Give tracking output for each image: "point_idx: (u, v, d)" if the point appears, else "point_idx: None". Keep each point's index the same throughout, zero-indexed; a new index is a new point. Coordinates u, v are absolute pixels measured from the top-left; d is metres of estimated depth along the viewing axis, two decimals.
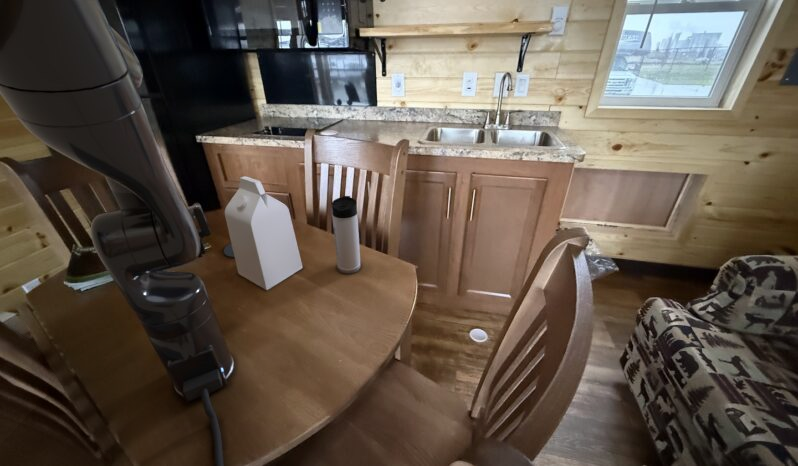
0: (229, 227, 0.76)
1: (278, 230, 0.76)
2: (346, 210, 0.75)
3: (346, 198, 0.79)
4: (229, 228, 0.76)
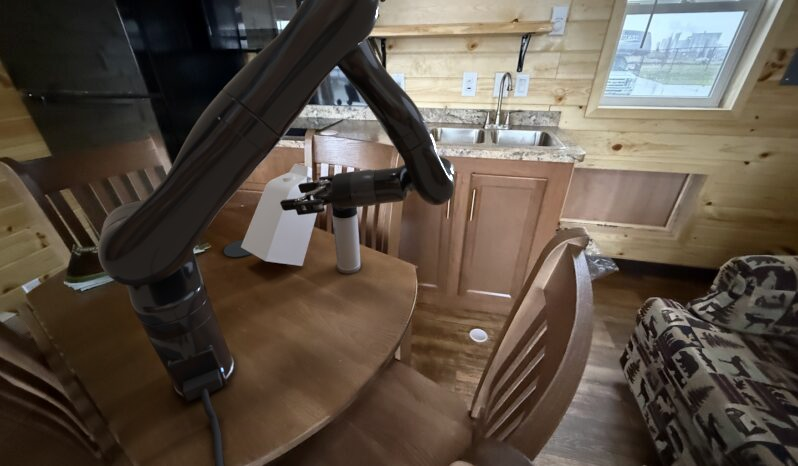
0: (262, 197, 0.83)
1: None
2: (346, 210, 0.75)
3: None
4: (262, 198, 0.83)
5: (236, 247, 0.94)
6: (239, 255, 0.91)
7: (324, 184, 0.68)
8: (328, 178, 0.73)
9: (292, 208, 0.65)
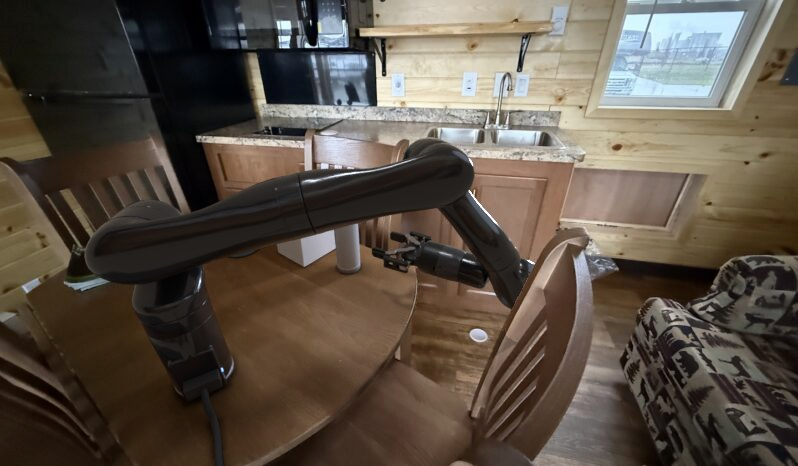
0: None
1: None
2: None
3: None
4: None
5: None
6: (239, 255, 0.91)
7: (414, 244, 0.74)
8: (418, 236, 0.78)
9: (380, 257, 0.72)
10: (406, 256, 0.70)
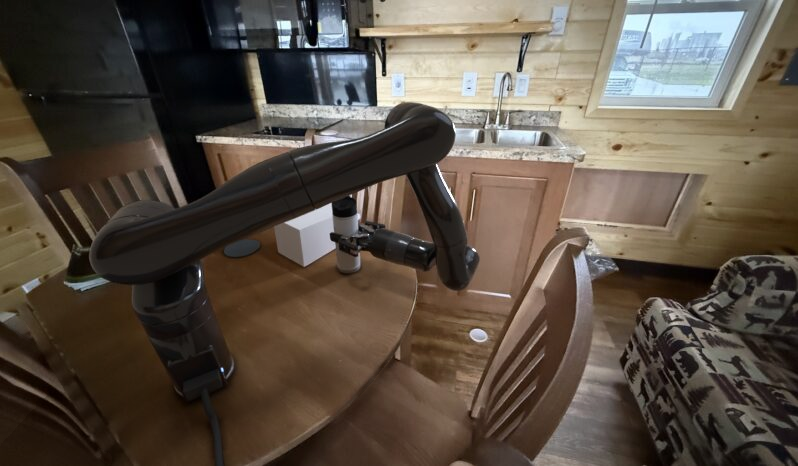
0: None
1: None
2: (346, 209, 0.75)
3: (346, 198, 0.80)
4: None
5: (236, 247, 0.94)
6: (239, 255, 0.91)
7: (369, 231, 0.79)
8: (373, 225, 0.83)
9: (337, 242, 0.78)
10: (359, 242, 0.76)
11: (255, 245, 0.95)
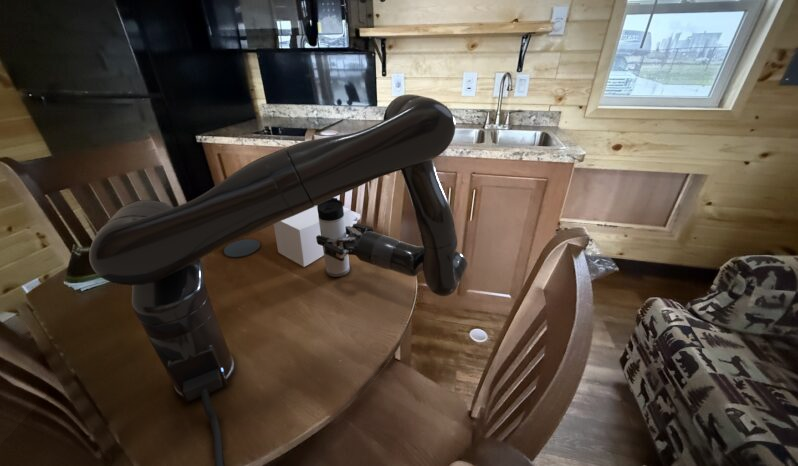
0: None
1: None
2: (332, 212, 0.74)
3: (333, 200, 0.78)
4: None
5: (236, 247, 0.94)
6: (239, 255, 0.91)
7: (356, 234, 0.77)
8: (361, 227, 0.82)
9: (323, 245, 0.77)
10: (346, 246, 0.74)
11: (255, 245, 0.95)
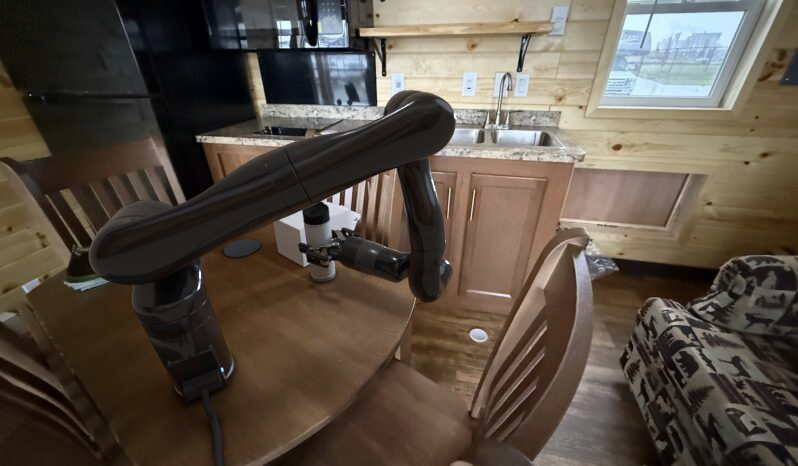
0: None
1: None
2: (317, 217, 0.72)
3: (319, 204, 0.76)
4: None
5: (236, 247, 0.94)
6: (239, 255, 0.91)
7: (340, 240, 0.75)
8: (348, 232, 0.80)
9: (305, 253, 0.74)
10: (329, 251, 0.72)
11: (255, 245, 0.95)
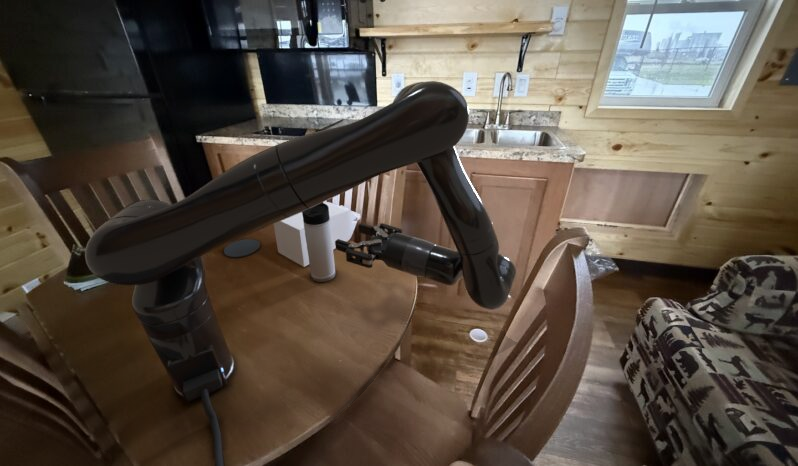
0: None
1: (338, 233, 0.95)
2: (316, 216, 0.72)
3: (318, 204, 0.76)
4: None
5: (236, 247, 0.94)
6: (239, 255, 0.91)
7: (381, 236, 0.68)
8: (388, 228, 0.72)
9: (344, 251, 0.66)
10: (371, 249, 0.64)
11: (255, 245, 0.95)
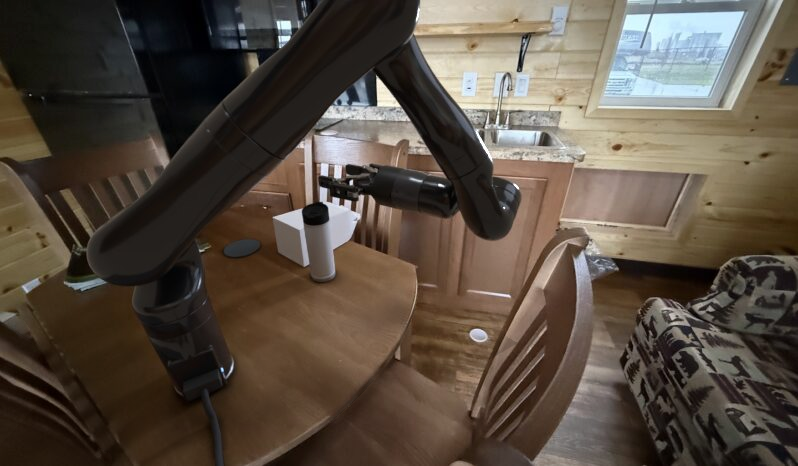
0: None
1: (338, 233, 0.95)
2: (316, 217, 0.72)
3: (318, 204, 0.76)
4: None
5: (236, 247, 0.94)
6: (239, 255, 0.91)
7: (370, 172, 0.61)
8: (378, 167, 0.65)
9: (327, 187, 0.59)
10: (358, 183, 0.57)
11: (255, 245, 0.95)
